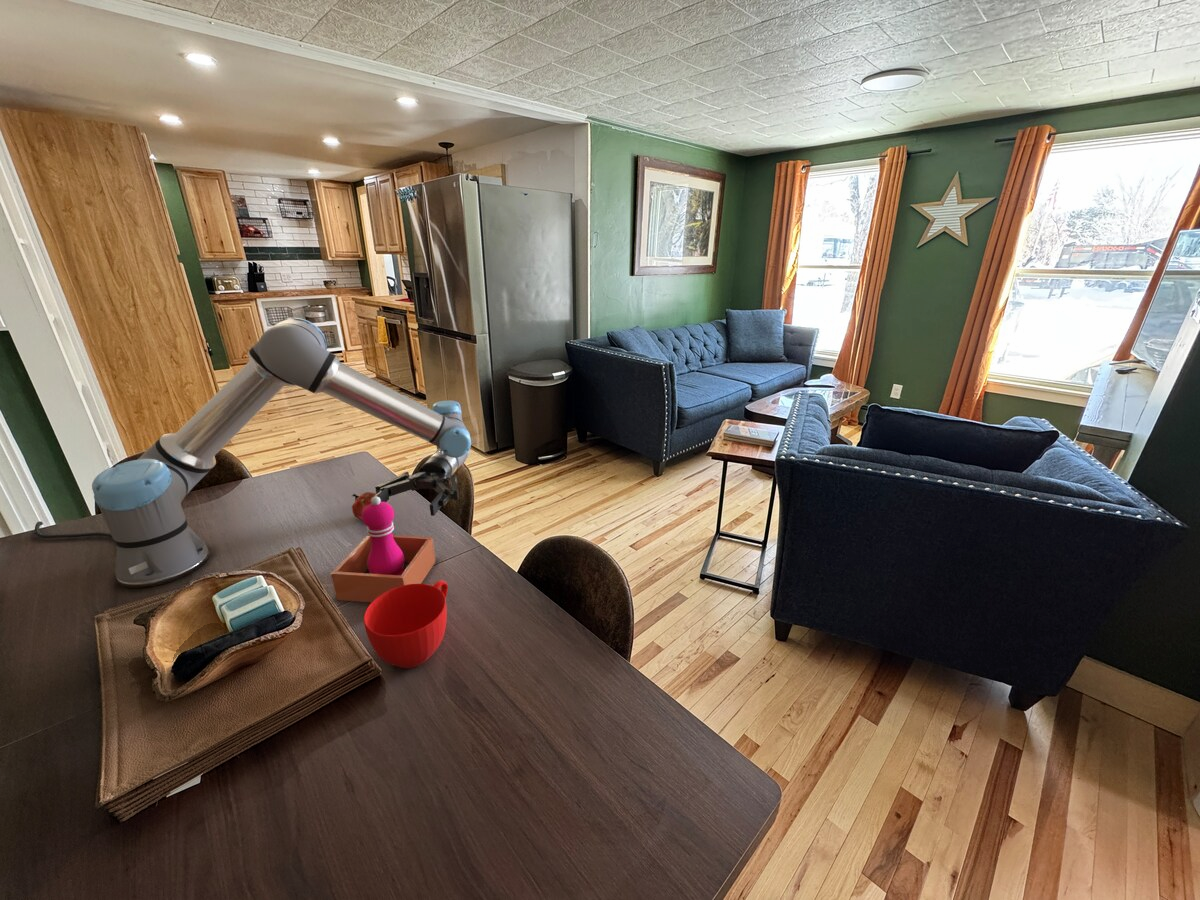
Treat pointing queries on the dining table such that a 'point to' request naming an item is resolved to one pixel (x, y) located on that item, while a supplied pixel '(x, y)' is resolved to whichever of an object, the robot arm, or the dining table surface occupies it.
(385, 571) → the pepper mill
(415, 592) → the ceramic cup
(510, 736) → the dining table surface
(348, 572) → the open wooden tray
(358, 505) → the pomegranate
